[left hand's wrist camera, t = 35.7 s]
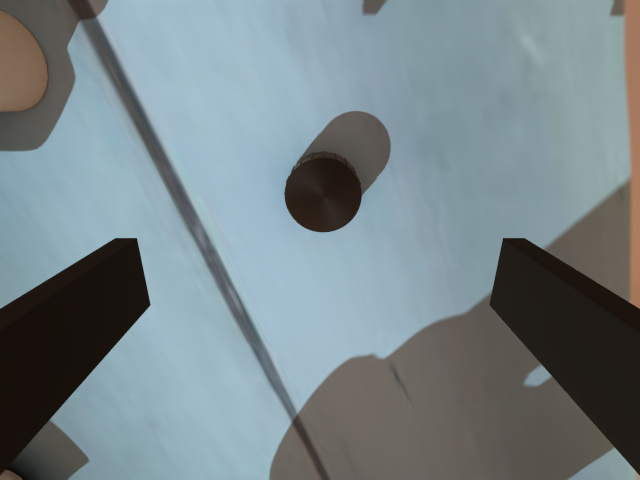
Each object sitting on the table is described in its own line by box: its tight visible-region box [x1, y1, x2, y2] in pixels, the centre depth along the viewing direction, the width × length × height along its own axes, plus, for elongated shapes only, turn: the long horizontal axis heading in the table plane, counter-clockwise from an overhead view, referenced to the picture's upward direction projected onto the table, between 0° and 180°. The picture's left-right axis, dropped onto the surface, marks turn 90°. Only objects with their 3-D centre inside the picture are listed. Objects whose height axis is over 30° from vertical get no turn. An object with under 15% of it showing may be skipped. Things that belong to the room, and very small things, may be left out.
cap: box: [284, 151, 362, 232], centre depth 21 cm, size 5×5×2 cm
